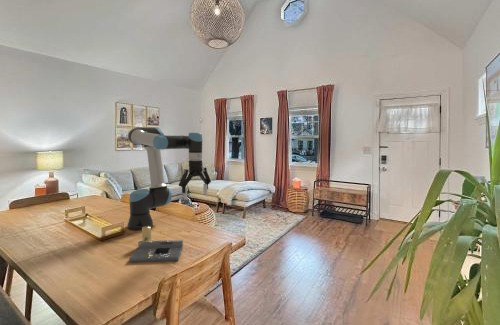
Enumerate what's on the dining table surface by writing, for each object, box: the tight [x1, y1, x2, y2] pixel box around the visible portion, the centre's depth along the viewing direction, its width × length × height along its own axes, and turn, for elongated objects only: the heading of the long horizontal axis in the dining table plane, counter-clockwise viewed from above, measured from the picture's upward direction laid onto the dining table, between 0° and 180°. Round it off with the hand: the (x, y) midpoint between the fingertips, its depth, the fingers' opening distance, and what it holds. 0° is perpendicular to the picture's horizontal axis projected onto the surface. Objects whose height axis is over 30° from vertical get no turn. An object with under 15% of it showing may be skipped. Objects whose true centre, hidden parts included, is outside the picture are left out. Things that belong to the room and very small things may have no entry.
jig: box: [128, 239, 184, 263], centre depth 126 cm, size 22×14×4 cm, turn 95°
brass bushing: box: [141, 226, 152, 241], centre depth 137 cm, size 4×4×10 cm
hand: (195, 196), depth 147 cm, fingers open, 13 cm apart
